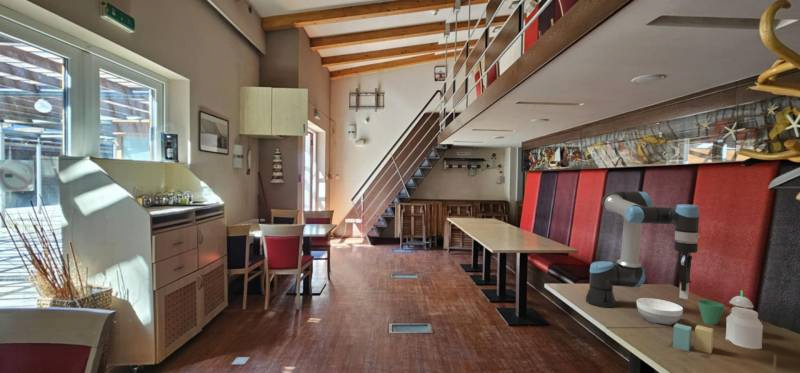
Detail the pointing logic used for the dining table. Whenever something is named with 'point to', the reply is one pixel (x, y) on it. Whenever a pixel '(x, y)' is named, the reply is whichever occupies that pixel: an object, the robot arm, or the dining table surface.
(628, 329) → the dining table surface
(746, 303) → the smoothie
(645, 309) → the bowl
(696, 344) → the pale yellow block
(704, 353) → the board
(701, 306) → the mug
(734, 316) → the jar
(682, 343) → the teal rectangular block
